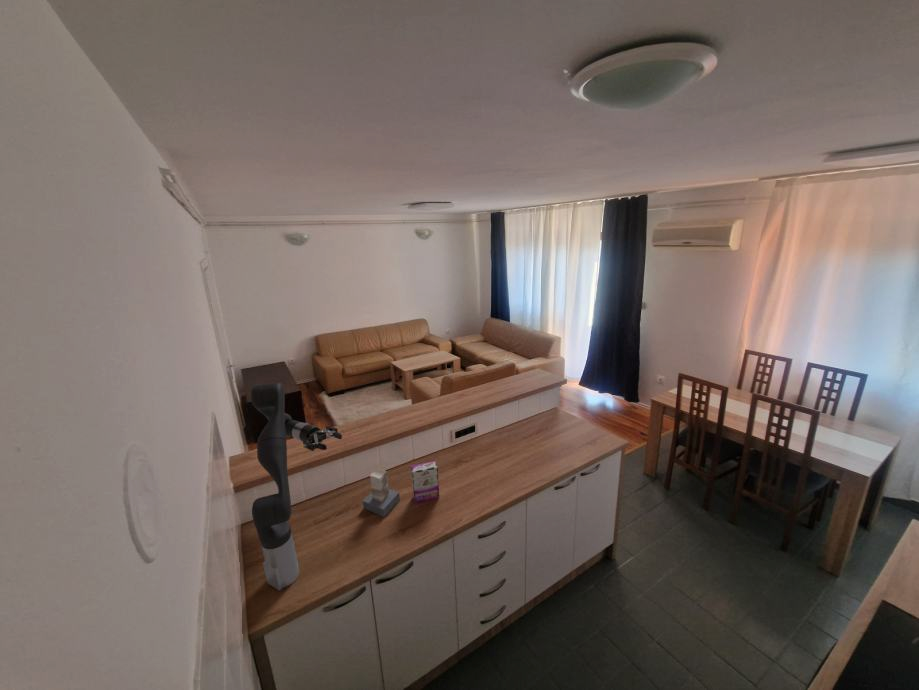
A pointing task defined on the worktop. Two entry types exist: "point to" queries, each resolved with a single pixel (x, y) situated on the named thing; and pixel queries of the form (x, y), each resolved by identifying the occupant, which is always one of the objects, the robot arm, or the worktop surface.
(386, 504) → the charcoal plinth
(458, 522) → the worktop surface
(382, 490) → the cream block
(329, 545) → the worktop surface
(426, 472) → the candy bar box
